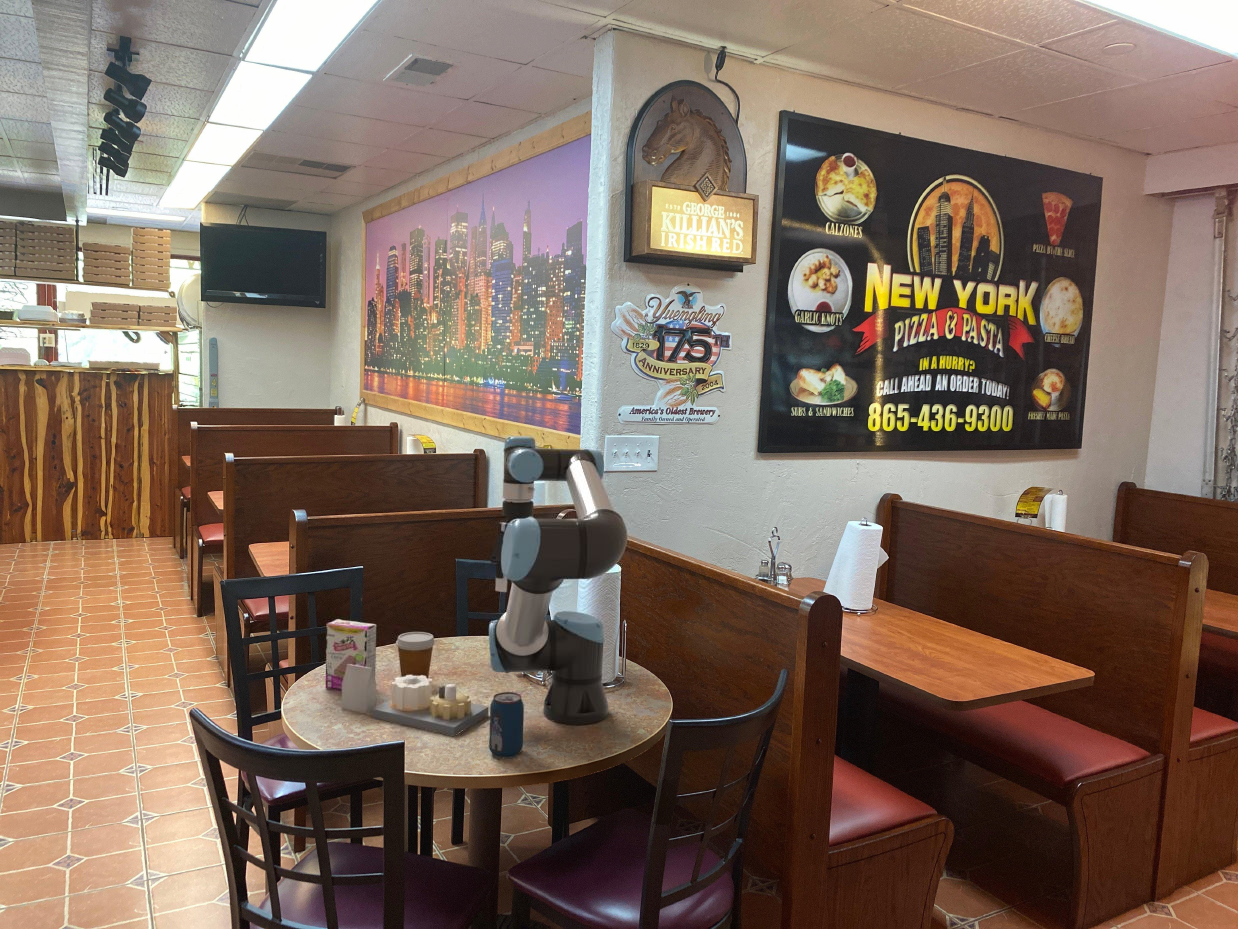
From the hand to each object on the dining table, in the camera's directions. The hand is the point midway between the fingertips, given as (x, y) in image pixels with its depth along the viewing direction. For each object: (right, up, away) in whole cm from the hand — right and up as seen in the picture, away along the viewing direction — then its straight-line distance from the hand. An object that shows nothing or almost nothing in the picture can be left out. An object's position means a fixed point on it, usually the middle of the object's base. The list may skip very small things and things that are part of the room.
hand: (515, 585), depth 216 cm
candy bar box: (-40, -25, -1) cm, 48 cm away
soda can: (+2, -30, -34) cm, 45 cm away
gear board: (-17, -28, -16) cm, 36 cm away
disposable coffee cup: (-26, -25, +5) cm, 37 cm away
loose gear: (-22, -25, -14) cm, 36 cm away
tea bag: (-35, -27, -13) cm, 46 cm away
